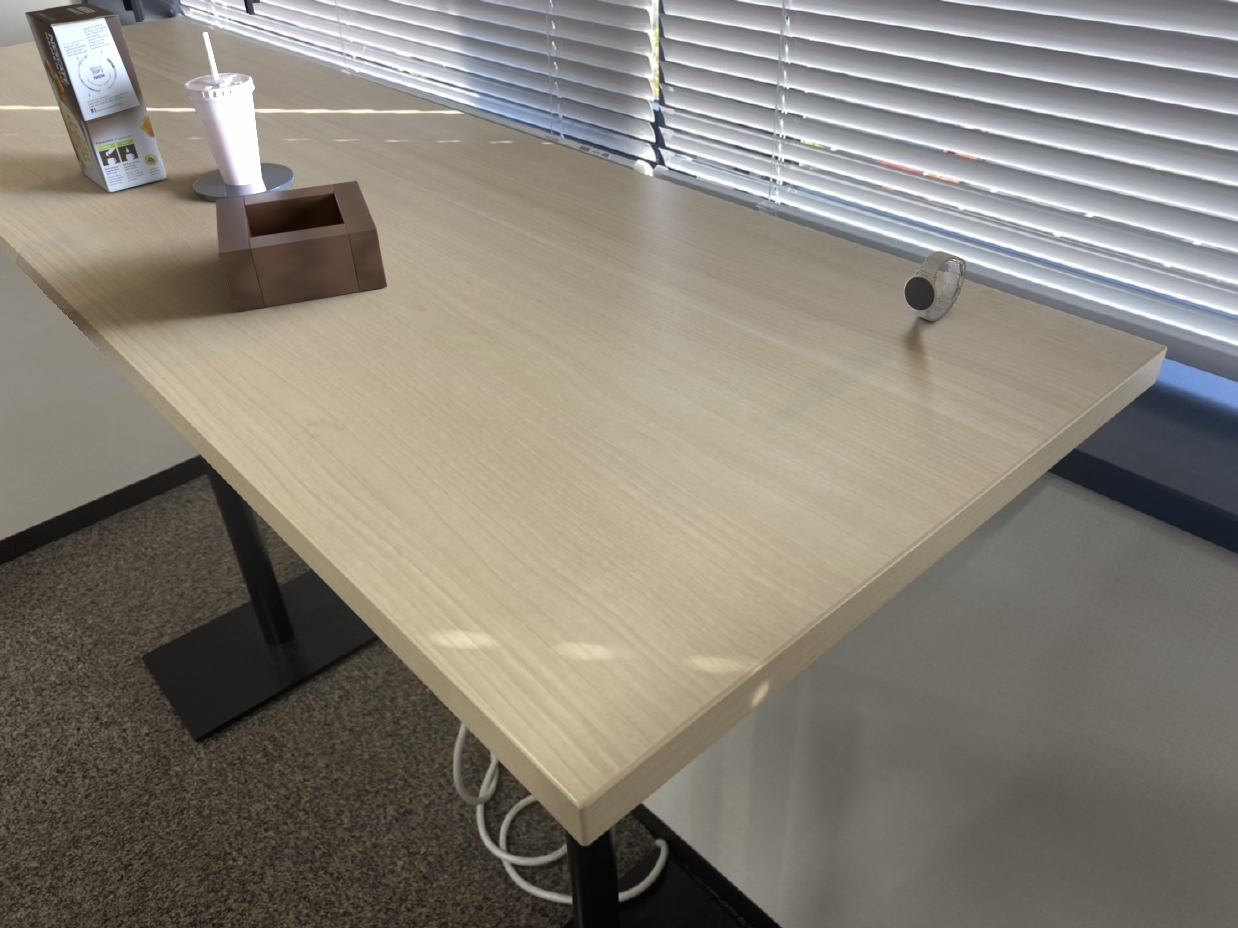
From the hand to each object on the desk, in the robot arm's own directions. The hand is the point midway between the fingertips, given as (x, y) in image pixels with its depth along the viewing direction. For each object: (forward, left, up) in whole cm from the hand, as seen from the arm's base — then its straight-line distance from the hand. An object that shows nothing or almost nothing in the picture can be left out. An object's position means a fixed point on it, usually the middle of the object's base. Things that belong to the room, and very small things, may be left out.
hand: (196, 15), depth 90 cm
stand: (+4, -24, -16) cm, 29 cm away
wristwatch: (+48, -51, -16) cm, 72 cm away
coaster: (+1, 0, -16) cm, 16 cm away
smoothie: (0, 0, -16) cm, 16 cm away
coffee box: (-11, +8, -16) cm, 22 cm away
